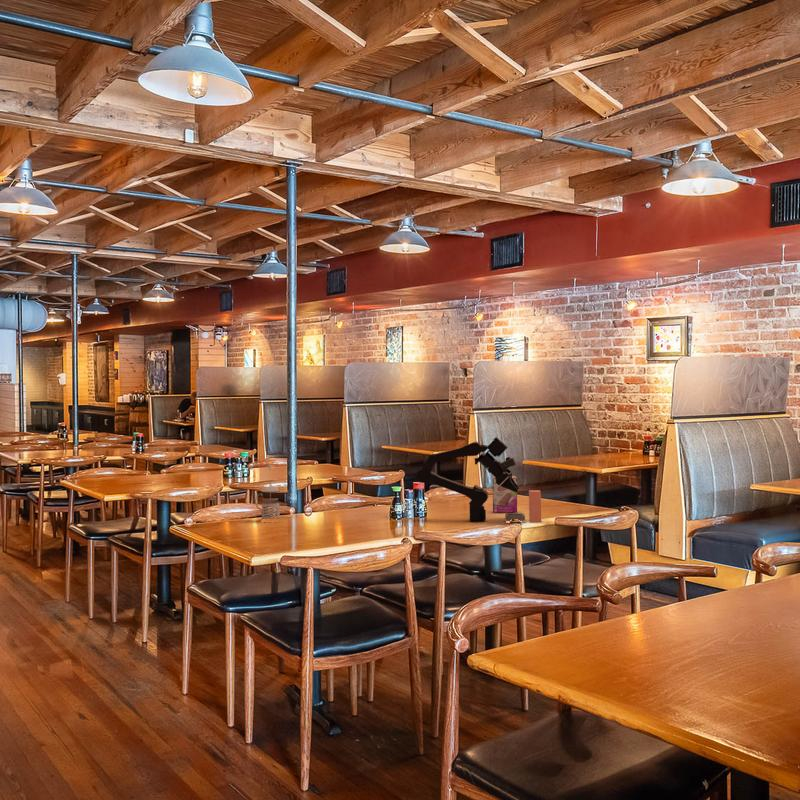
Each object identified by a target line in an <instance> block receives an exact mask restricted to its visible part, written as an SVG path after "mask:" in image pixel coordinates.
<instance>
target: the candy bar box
mask: <svg viewBox="0 0 800 800" xmlns="http://www.w3.org/2000/svg"><path fill="white" fill-rule="evenodd" d="M512 478H513V480H514V481H515V483H516V484H517V485H518V476H513V475H512ZM501 484H502V483H501ZM501 484H500V485H501ZM500 485H498V484H497V483H496V479H495V477H494V476H493V475H492V513H493V514H507V513H513V512H517V513H518V492H517V493H516V492H514V491H511V490H509V489H507V488H504V487H501V486H500Z"/></svg>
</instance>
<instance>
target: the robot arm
mask: <svg viewBox="0 0 800 800" xmlns="http://www.w3.org/2000/svg"><path fill="white" fill-rule="evenodd" d="M507 449H508V445H507V444H506V443H505V442H504V441H502V440H501V439H499V437H497V436H496V437H494V438H493V439H492V442H490V444H488V445H487V444H486V445H485V444H481V443H480V442H478V441H473V442H471V443H468V444H466V445H464V446H462V447H459V448H458V447H457V448H454V449H449V450H446V451H442V452H441V451H440V452H438V453H431V454H430V455H429V456H428V459H427V460H426V462H425V463H424V465H423V467H422V468H421V469H419V470H418V471H417V472H416V475H415V477H416V479H417V481H418V482H419V483H423V484H430V485H436V486H439V487H441V488H445V489H447V490H450V491H453V492H454V493H458V494H460V495H463V496H465V497H467V498H469V500H470V501H469V502H468V505H469V507H468V509H469V513H468V514H469V519H468V520H469V522H470V523H473V522H475V523H478V522H479V523H481V522H482V523H483V522H486V520H487V515H486V514H487V513H486V509H485V505H484V504H485V503H486V502H487V500H488V499H489V492H488V491H487V490H486V488H485V487H482V486H481V487H480V486H479V485H477V484H474V486H472V487H471V486H467V485H465V484H462V483H459V482H458V481H454V480H451V479H448V478H446V477H444V476H440V475H439V474H437V473H436V472H434V471H433V470H434V468H435V466H436V464H437V463H440V462H444V461H447V460H452V459H456V458H460V457H461V458H462V457H474V465H475V466H476V465H477V464H478V463H479V464H480V465H482V466H483V468H484V469H485V470H487V472H488V474H491V475H492V477H493V476H494V477H495V479H496V483H497V484H498V485H500V484H501V483H502V484H501V485H500V486H501V487H504V488H507V489H509V490H511V491H514V492H516V493H517V494H518V491H519V489H520V487H519V486H518V483H517V484H516V483H515V481H514V480H513V478H512V476H513V472H512V470H511V469H510V468H511V467H514V466H516V465H517V462H516V461H515V458H514V457H510V456H508V457H505V460H504V461H503V462H500V461H499V460H496V457H498V458H499V457H500V456H502V454H503V453H504V452H505V451H507ZM487 450H488V451H487ZM483 452H485V453H484V454H483ZM476 456H478V457H476Z"/></svg>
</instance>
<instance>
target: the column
mask: <svg viewBox="0 0 800 800" xmlns="http://www.w3.org/2000/svg"><path fill="white" fill-rule="evenodd" d="M528 518H529V519H528V520H529V523H542V494H541V489H540V490H536V489H535V490H532V489H531V490H530V489H529V490H528Z"/></svg>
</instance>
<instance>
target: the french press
mask: <svg viewBox="0 0 800 800" xmlns="http://www.w3.org/2000/svg"><path fill="white" fill-rule="evenodd" d="M272 465H273V464H268V465H267V468H269V469H271V468H272V467H273V466H272ZM279 491H280V489H279V488H278V487H275V486H271V484H269V486H265V487H264V488H262V489H261V491H260V492H261V493H259V494H257V496H256V497H255V500H254V504H255V507H256V508H257V509H258V510H259V511H260V512H261V520H262V519H274V518H271V517H278V518H277V519H279V518H280V516H281V515H280V501H279V498H275V497H274V498H273V497H271V496H272V495H271V493H277V492H279ZM263 493H269V498H268V497H266V498H263V499H262V503H261V508H260V506H258V505H257V499H258V498H259V496H261V497H263ZM280 519H281V518H280Z"/></svg>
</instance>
